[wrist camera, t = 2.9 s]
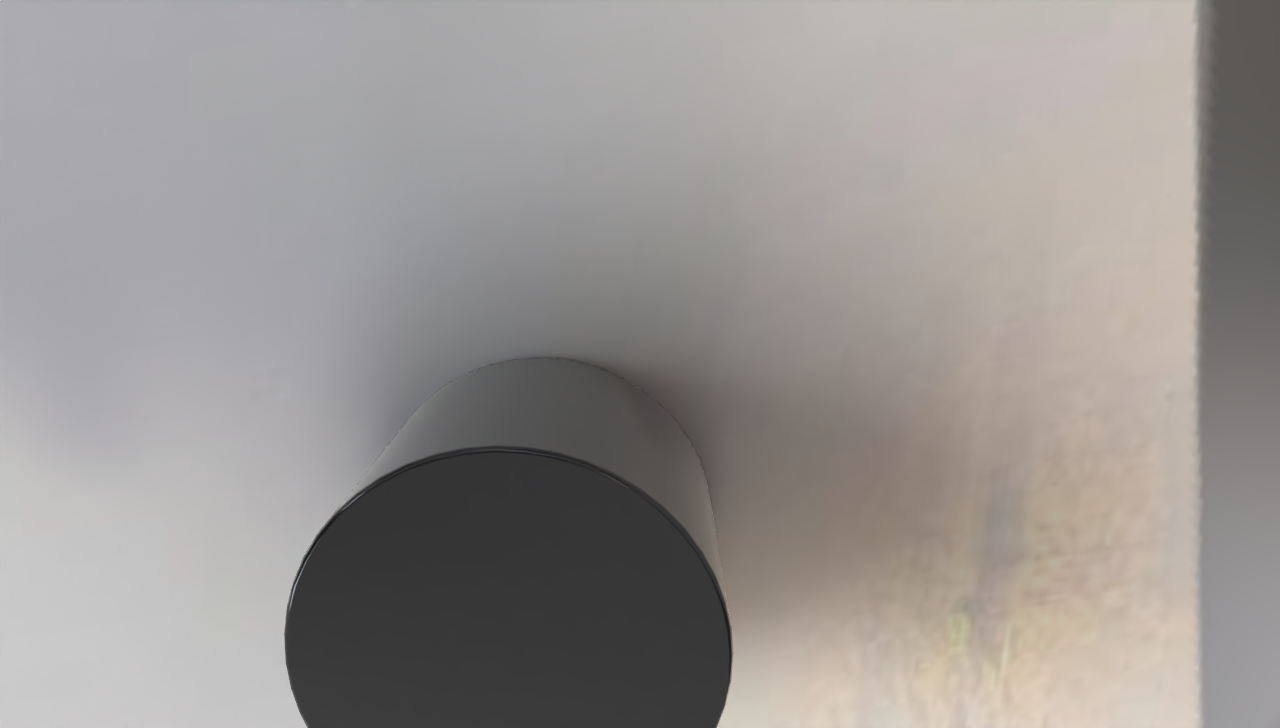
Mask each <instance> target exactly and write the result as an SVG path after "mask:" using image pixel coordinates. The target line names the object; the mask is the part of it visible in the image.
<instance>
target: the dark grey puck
mask: <svg viewBox="0 0 1280 728" xmlns="http://www.w3.org/2000/svg"><path fill="white" fill-rule="evenodd" d="M284 636H285V654H286V665H287V670H288V675H289V680H290V685H291V689H292V692H293V695H294V697H295V700H296V703H297V706H298V709H299V712H300V714H301V716H302V718H303V720H304V722H305V724H306V726H307V727H308V728H717V726H718V723H719V720H720V718H721V715H722V713H723V710H724V707H725V705H726V700H727V696H728V692H729V687H730V683H731V676H732V663H733V643H732V629H731V622H730V616H729V610H728V604H727V597H726V591H725V585H724V579H723V573H722V567H721V561H720V554H719V548H718V542H717V536H716V530H715V524H714V518H713V511H712V505H711V499H710V494H709V489H708V485H707V480H706V476H705V473H704V471H703V468H702V465H701V463H700V460H699V457H698V455H697V453H696V452H695V450H694V448H693V446H692V444H691V442H690V440H689V438H688V437H687V436H686V434H685V433H684V431H683V430H682V429H681V427H680V426H679V425H678V423H677V422H676V420H675V419H674V418H673V417H672V416H671V415H670V414H669V413H668V412H667V411H666V410H665V409H664V408H663V407H662V406H661V405H660V404H659V403H658V402H657V401H655V400H654V399H653V398H652V397H650V396H649V395H648V394H647V393H645V392H644V391H643V390H641V389H640V388H638V387H636V386H635V385H633V384H632V383H630V382H628V381H627V380H625V379H623V378H621V377H619V376H617V375H614V374H612V373H610V372H608V371H605V370H603V369H600V368H597V367H593V366H590V365H587V364H584V363H580V362H574V361H568V360H562V359H550V358H528V359H516V360H509V361H505V362H500V363H495V364H491V365H488V366H485V367H482V368H479V369H477V370H474V371H471V372H469V373H467V374H465V375H463V376H461V377H459V378H457V379H455V380H453V381H451V382H449V383H448V384H447V385H445V386H444V387H442V388H441V389H439V390H438V391H436V392H435V393H434V394H432V395H431V396H430V397H429V398H428V399H427V400H426V401H425V402H423V403H422V404H421V405H420V406H419V407H418V408H417V409H416V410H415V411H414V413H413V414H412V415H411V416H410V417H409V419H408V420H407V421H406V422H405V424H404V425H403V426H402V427H401V429H400V430H399V431H398V432H397V434H396V435H395V436H394V437H393V439H392V440H391V441H390V443H389V444H388V445H387V446H386V448H385V449H384V450H383V451H382V453H381V454H380V455H379V456H378V458H377V459H376V460H375V462H374V463H373V464H372V465H371V467H370V468H369V469H368V470H367V472H366V473H365V474H364V475H363V477H362V478H361V479H360V481H359V482H358V483H357V484H356V486H355V487H354V488H353V489H352V491H351V492H350V493H349V494H348V496H347V497H346V498H345V500H344V501H343V502H342V503H341V505H340V506H339V507H338V508H337V510H336V511H335V512H334V513H333V515H332V516H331V517H330V519H329V520H328V521H327V522H326V524H325V525H324V526H323V527H322V529H321V530H320V531H319V532H318V534H317V535H316V537H315V539H314V540H313V542H312V544H311V545H310V547H309V549H308V550H307V552H306V554H305V555H304V557H303V559H302V562H301V564H300V567H299V569H298V571H297V574H296V576H295V579H294V581H293V585H292V589H291V593H290V597H289V601H288V605H287V611H286V622H285V633H284Z"/></svg>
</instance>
